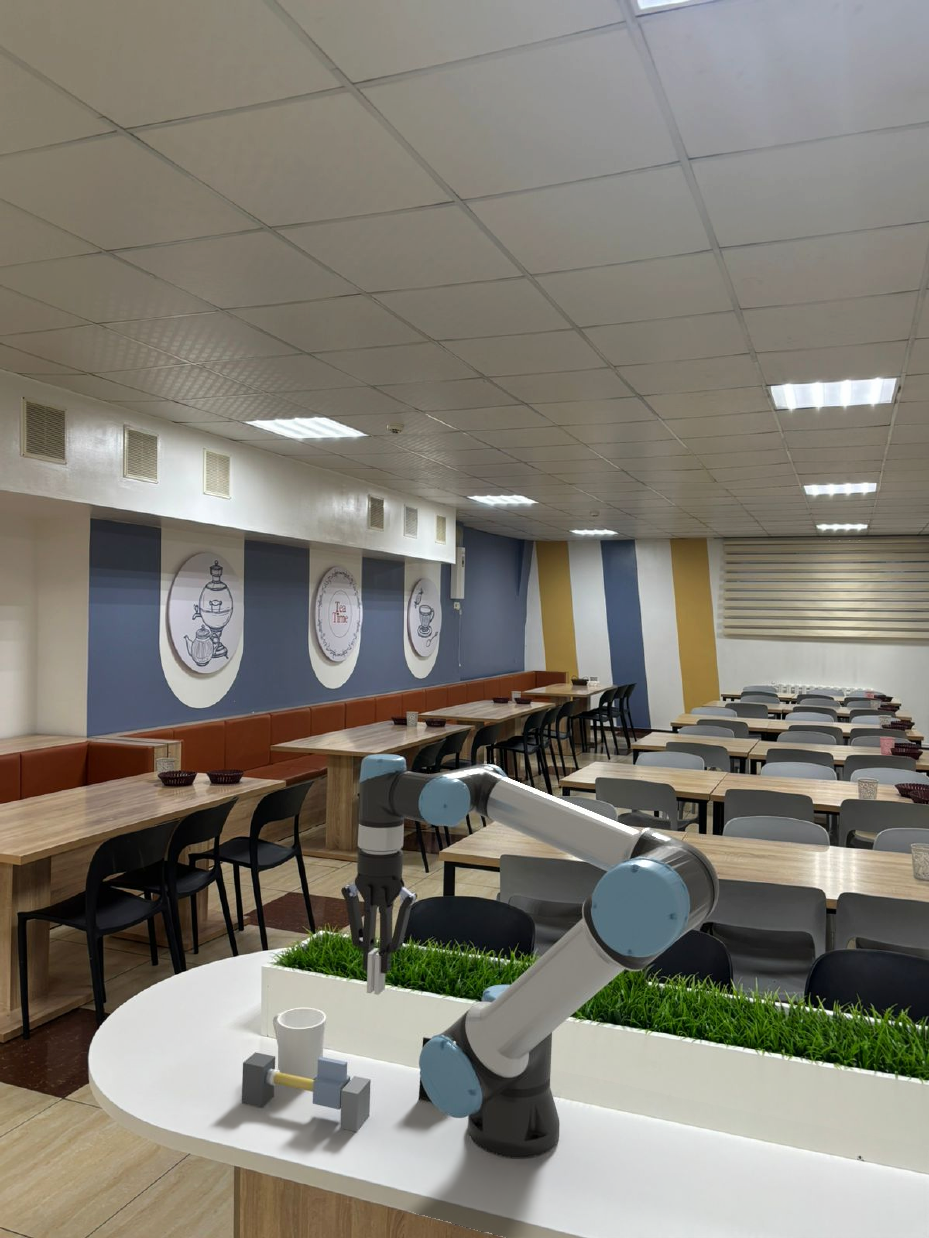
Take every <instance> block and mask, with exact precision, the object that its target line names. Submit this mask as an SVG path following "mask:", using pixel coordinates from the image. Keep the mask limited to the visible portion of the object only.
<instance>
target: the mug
mask: <svg viewBox="0 0 929 1238" xmlns="http://www.w3.org/2000/svg"><path fill="white" fill-rule="evenodd" d="M326 1023H327V1014H326V1013H325V1012H324V1011H322V1010H321V1009H320V1010H319V1009H317V1008H313V1007H296V1008H295V1007H294V1008H291V1009H287V1010H285V1011H282V1012H279V1013H277V1014H275V1015H274V1017H273V1018H272V1024H273V1025H272V1026H273V1031H274V1034H275V1039H276V1043H277V1070H280V1073H285V1074H289V1075H294V1076H299V1077H303V1078H308V1079H313V1080H315V1079H316V1078H317V1070H318V1059H319V1058H320V1057H324V1046H325V1045H324V1044H325V1041H324V1040H325V1031H326Z"/></svg>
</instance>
